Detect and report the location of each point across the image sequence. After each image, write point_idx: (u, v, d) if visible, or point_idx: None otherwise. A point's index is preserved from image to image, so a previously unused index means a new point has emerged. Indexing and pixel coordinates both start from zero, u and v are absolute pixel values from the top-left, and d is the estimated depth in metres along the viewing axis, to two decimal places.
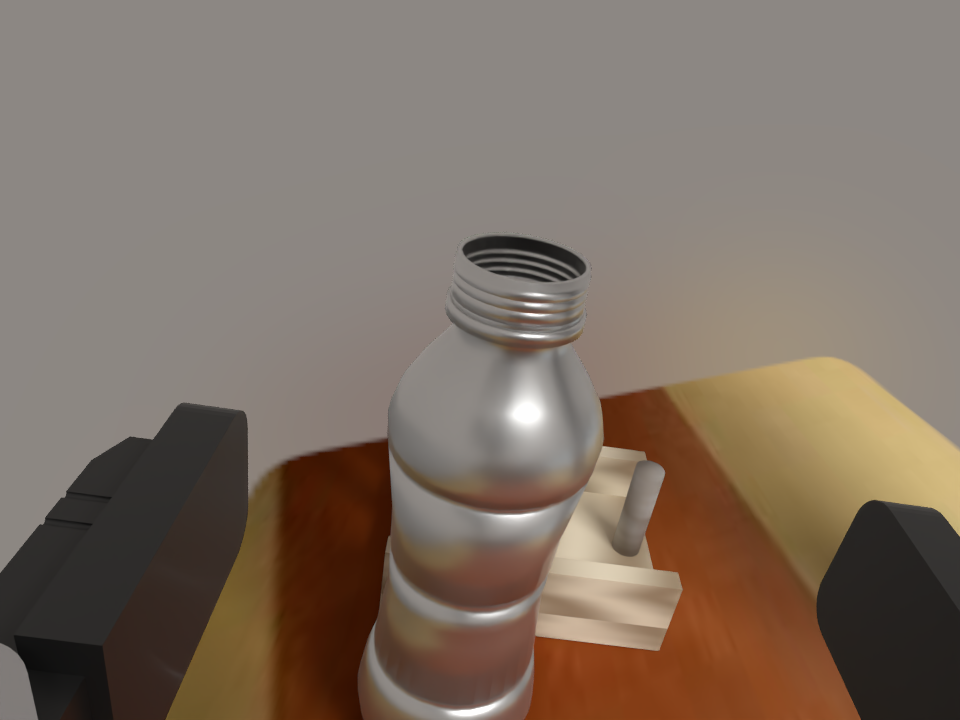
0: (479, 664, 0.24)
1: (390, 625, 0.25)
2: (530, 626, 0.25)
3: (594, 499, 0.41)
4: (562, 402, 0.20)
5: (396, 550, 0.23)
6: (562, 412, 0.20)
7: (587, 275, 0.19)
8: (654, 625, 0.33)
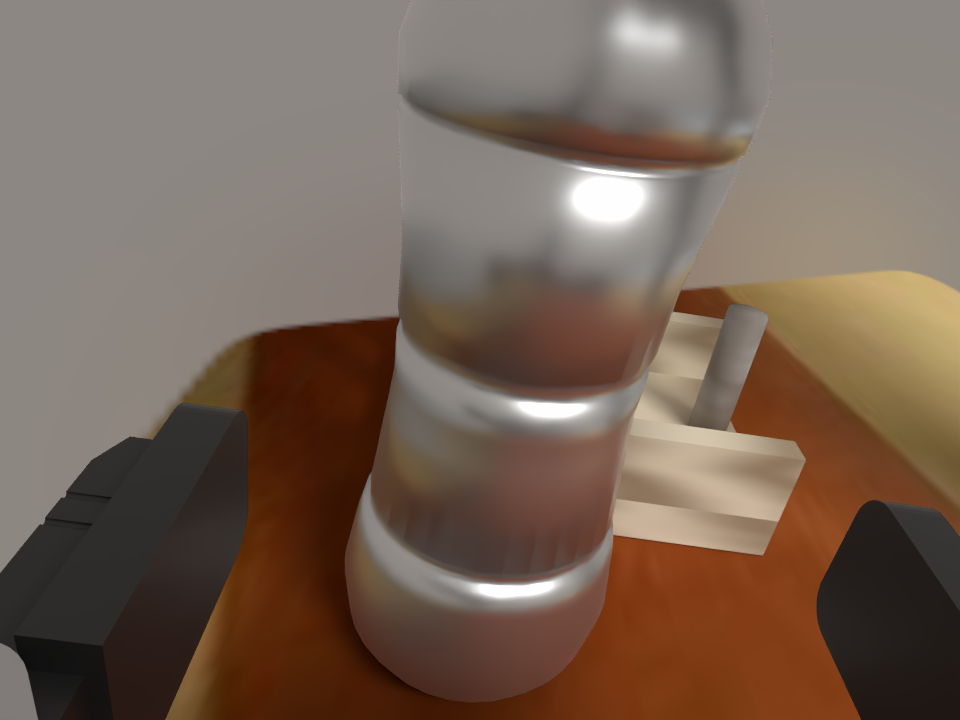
0: (541, 505, 0.15)
1: (396, 447, 0.16)
2: (620, 452, 0.16)
3: (658, 379, 0.31)
4: None
5: (408, 305, 0.14)
6: None
7: None
8: (760, 516, 0.24)
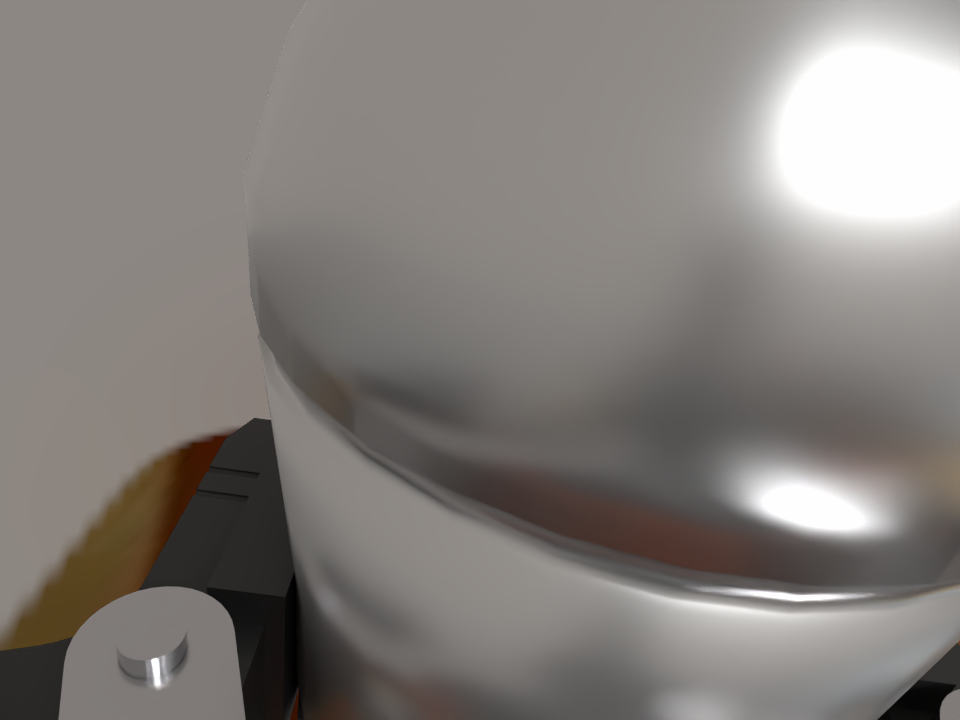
0: None
1: None
2: None
3: None
4: None
5: (306, 692, 0.07)
6: None
7: None
8: None
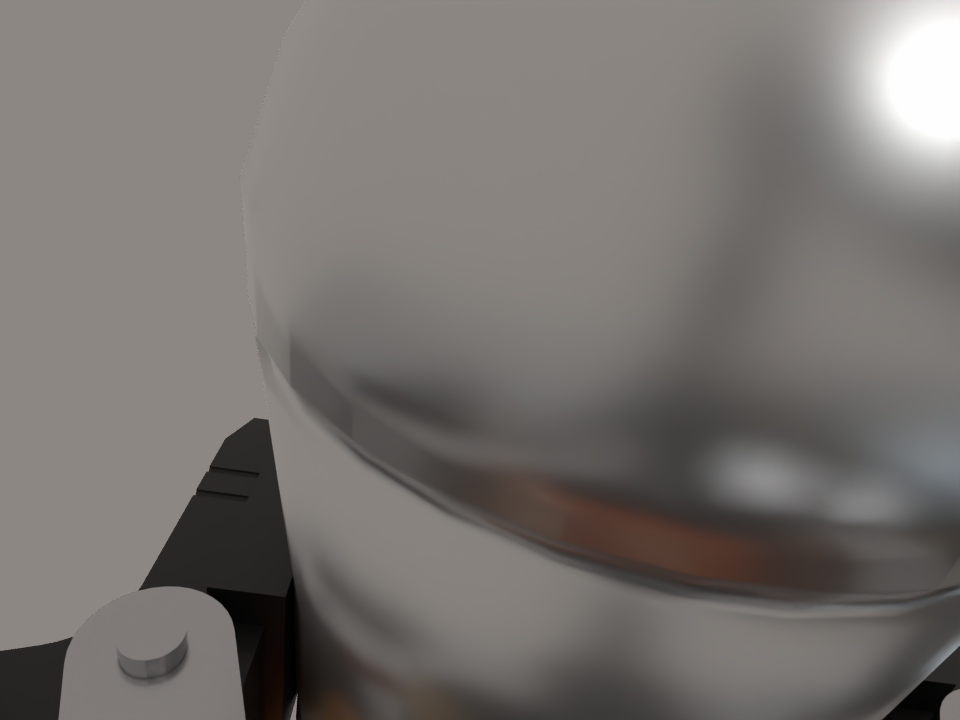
0: None
1: None
2: None
3: None
4: None
5: (304, 695, 0.07)
6: None
7: None
8: None
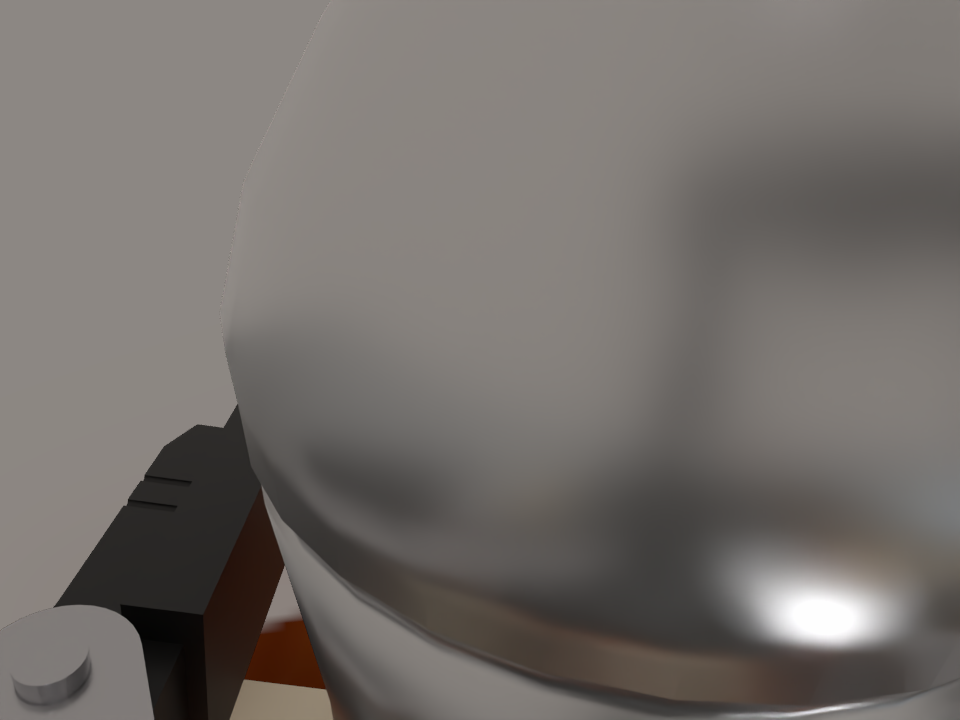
0: None
1: None
2: None
3: None
4: None
5: None
6: None
7: None
8: None
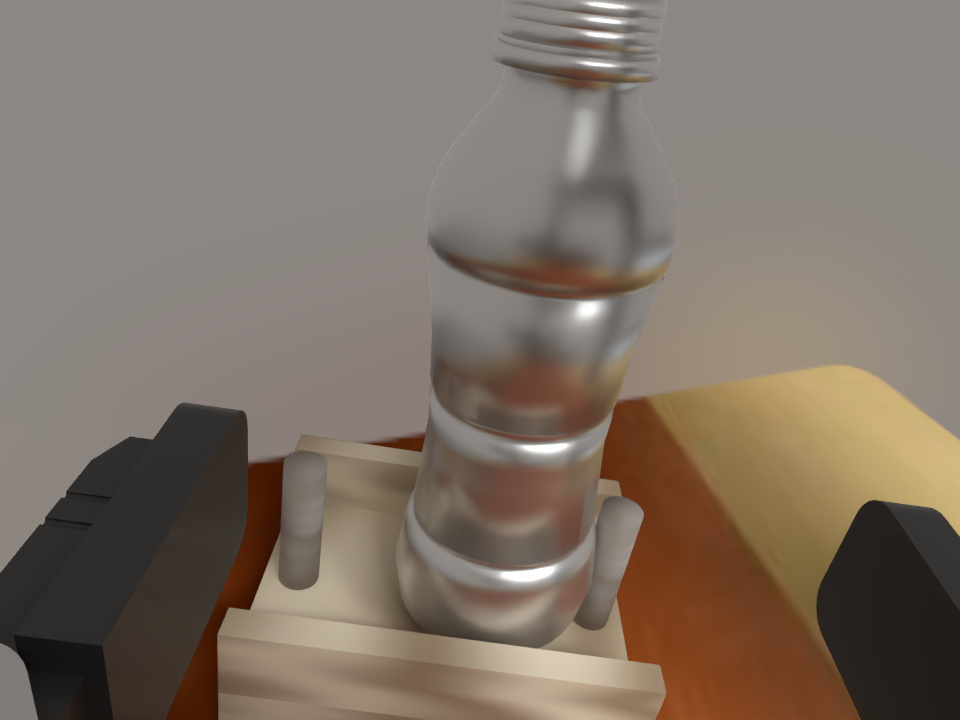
0: (539, 514, 0.21)
1: (433, 476, 0.22)
2: (595, 472, 0.22)
3: None
4: (637, 159, 0.17)
5: (439, 379, 0.20)
6: (638, 171, 0.17)
7: None
8: None
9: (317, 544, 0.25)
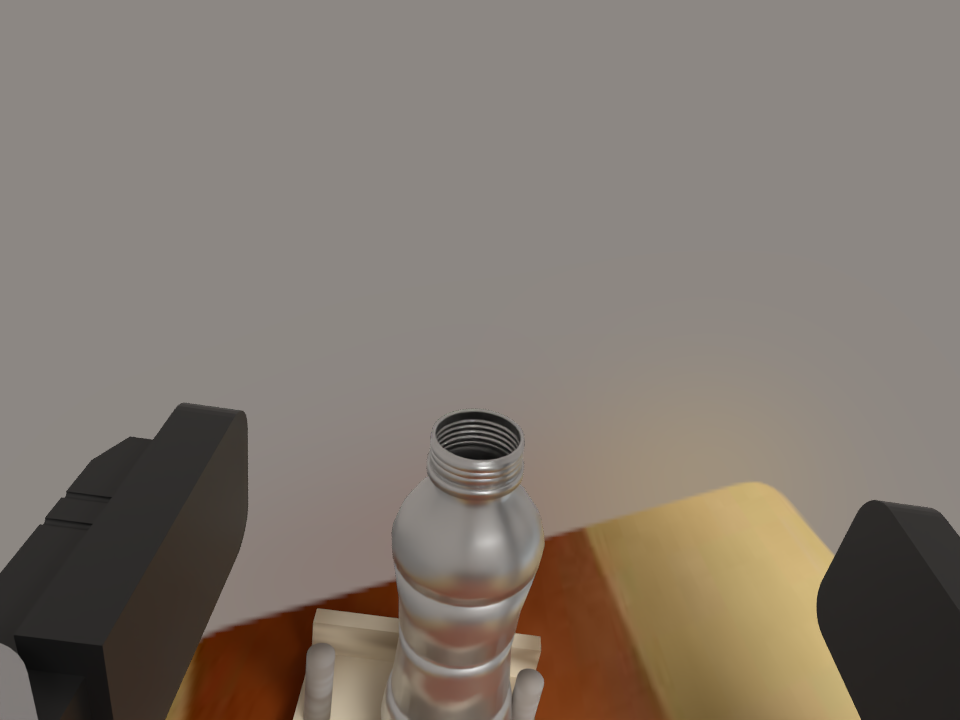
0: (467, 703, 0.34)
1: (401, 676, 0.34)
2: (503, 673, 0.34)
3: None
4: (509, 530, 0.29)
5: (403, 626, 0.33)
6: (509, 537, 0.29)
7: (520, 448, 0.29)
8: None
9: (329, 701, 0.38)
